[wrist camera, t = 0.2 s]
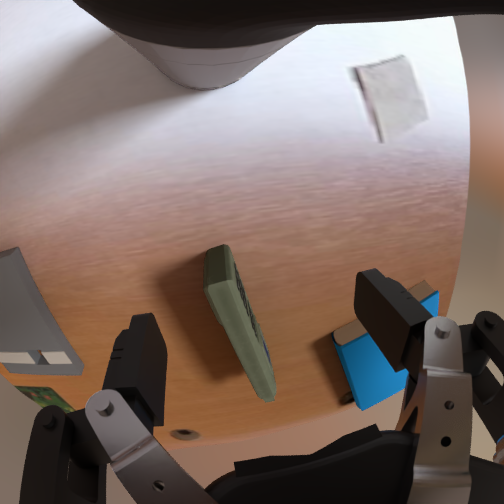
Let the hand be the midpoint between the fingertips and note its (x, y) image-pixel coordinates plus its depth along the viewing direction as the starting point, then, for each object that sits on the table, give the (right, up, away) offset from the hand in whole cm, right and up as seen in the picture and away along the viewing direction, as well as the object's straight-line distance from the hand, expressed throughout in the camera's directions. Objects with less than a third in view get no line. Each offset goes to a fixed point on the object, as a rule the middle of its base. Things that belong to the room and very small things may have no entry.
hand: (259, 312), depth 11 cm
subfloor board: (-34, -7, +18) cm, 39 cm away
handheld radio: (-1, -7, +25) cm, 26 cm away
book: (+23, -15, +33) cm, 43 cm away
